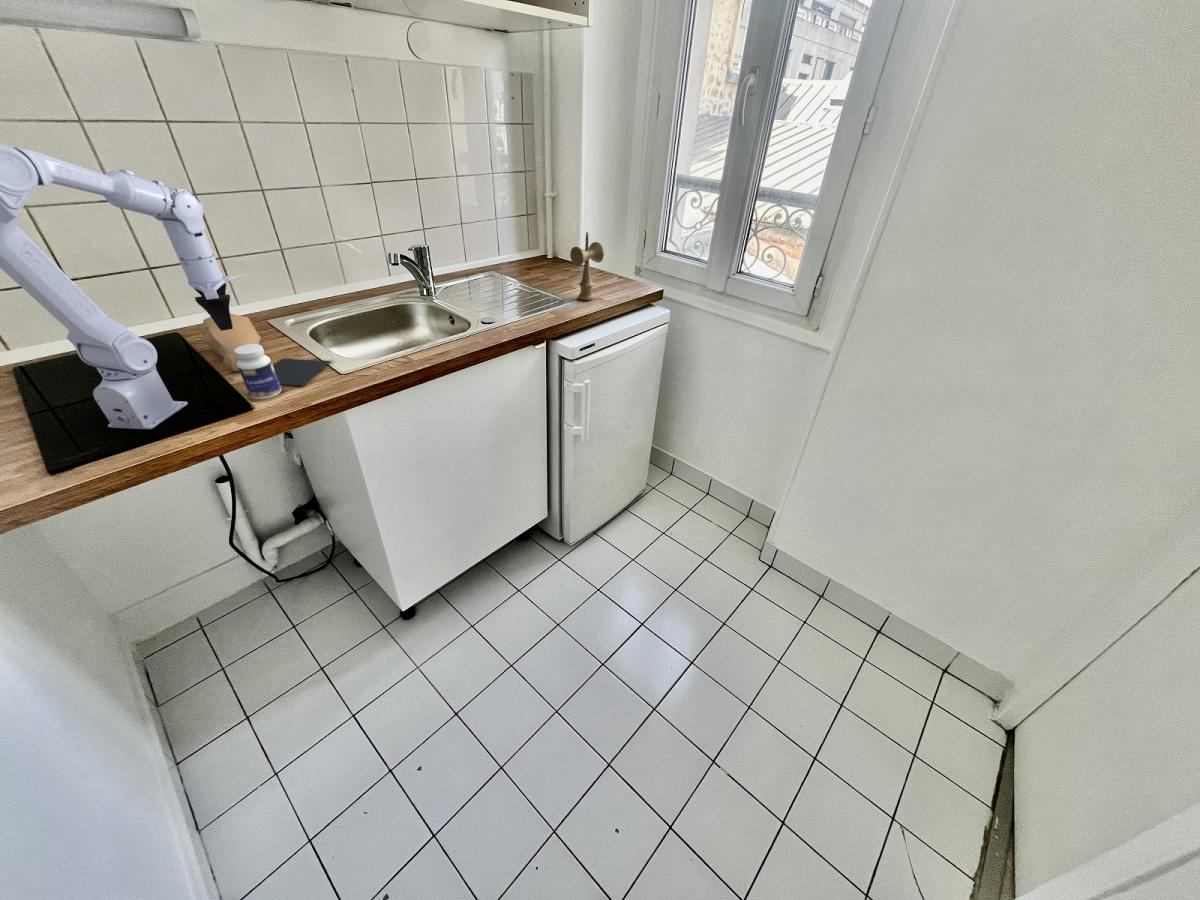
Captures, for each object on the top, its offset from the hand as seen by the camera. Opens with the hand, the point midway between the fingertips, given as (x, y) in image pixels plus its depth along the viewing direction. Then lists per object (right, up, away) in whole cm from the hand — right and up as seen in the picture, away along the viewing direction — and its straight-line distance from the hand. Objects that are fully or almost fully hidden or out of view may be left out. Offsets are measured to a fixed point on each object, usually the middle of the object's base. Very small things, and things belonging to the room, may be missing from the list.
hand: (225, 323), depth 103 cm
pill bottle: (+11, -15, -3) cm, 19 cm away
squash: (-4, -5, +10) cm, 12 cm away
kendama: (+75, +21, +52) cm, 94 cm away
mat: (+11, -10, +5) cm, 16 cm away
